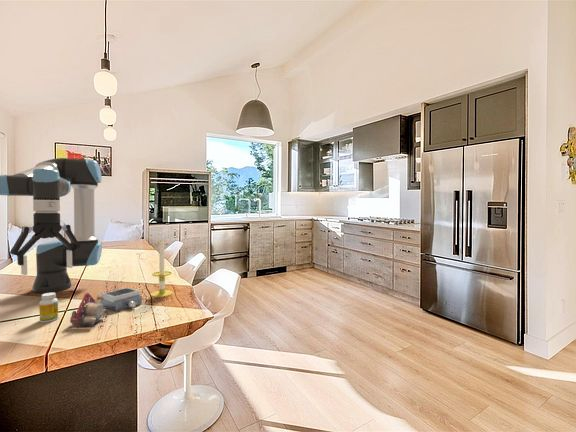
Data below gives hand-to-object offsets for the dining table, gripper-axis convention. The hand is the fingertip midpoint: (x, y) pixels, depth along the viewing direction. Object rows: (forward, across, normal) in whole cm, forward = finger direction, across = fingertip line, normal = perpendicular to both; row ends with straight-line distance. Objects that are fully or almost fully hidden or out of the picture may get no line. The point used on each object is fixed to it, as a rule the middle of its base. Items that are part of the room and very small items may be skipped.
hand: (48, 270), depth 108 cm
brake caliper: (+18, +6, -15) cm, 25 cm away
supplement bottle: (+18, 0, 0) cm, 18 cm away
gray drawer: (+18, +23, -7) cm, 30 cm away
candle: (+18, +42, -7) cm, 46 cm away
